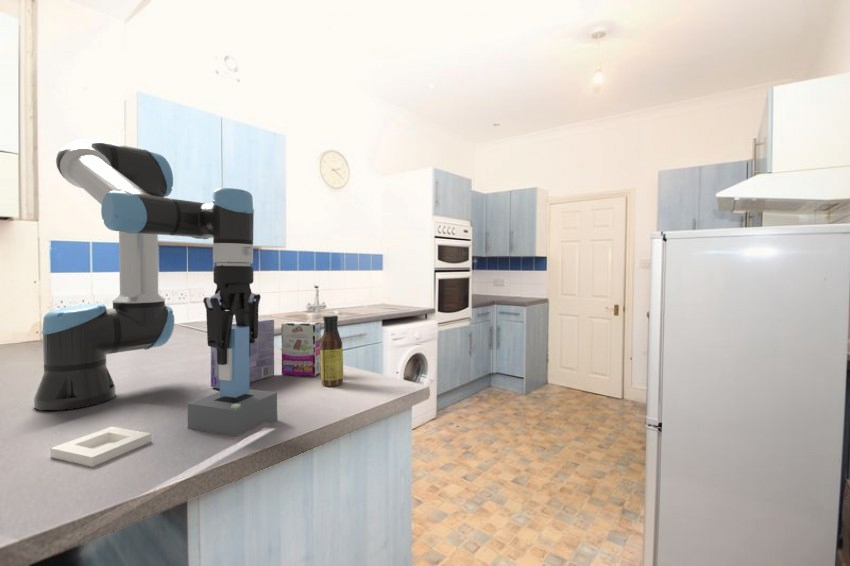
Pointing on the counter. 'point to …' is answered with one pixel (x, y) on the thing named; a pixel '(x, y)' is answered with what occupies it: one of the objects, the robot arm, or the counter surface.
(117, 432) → the holster
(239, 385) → the plug
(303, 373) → the candy bar box
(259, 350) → the cake pan box
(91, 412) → the counter surface
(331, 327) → the sauce bottle
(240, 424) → the port
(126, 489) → the counter surface
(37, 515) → the counter surface
